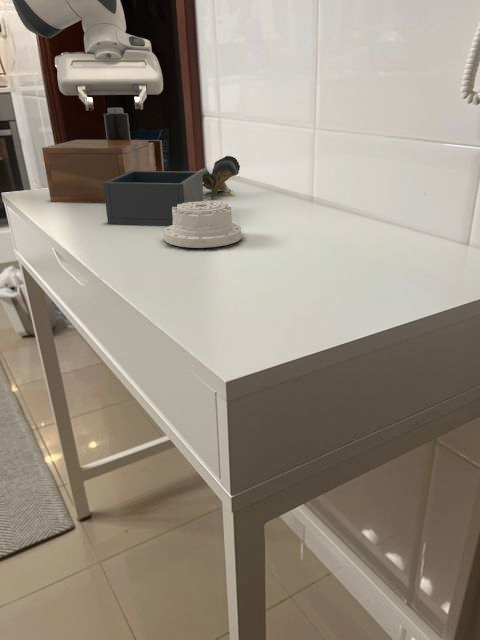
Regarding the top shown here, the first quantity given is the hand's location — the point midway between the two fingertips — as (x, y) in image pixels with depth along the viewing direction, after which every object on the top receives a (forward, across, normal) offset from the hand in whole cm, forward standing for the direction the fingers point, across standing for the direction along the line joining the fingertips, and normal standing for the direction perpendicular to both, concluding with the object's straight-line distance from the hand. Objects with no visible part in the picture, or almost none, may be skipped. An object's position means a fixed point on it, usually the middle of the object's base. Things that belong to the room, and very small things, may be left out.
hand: (114, 107), depth 109 cm
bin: (+35, +4, -15) cm, 38 cm away
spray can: (+12, 0, +5) cm, 13 cm away
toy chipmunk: (+25, +16, -5) cm, 30 cm away
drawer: (+11, +1, +7) cm, 13 cm away
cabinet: (+20, -4, 0) cm, 21 cm away
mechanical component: (+46, +8, -26) cm, 54 cm away
